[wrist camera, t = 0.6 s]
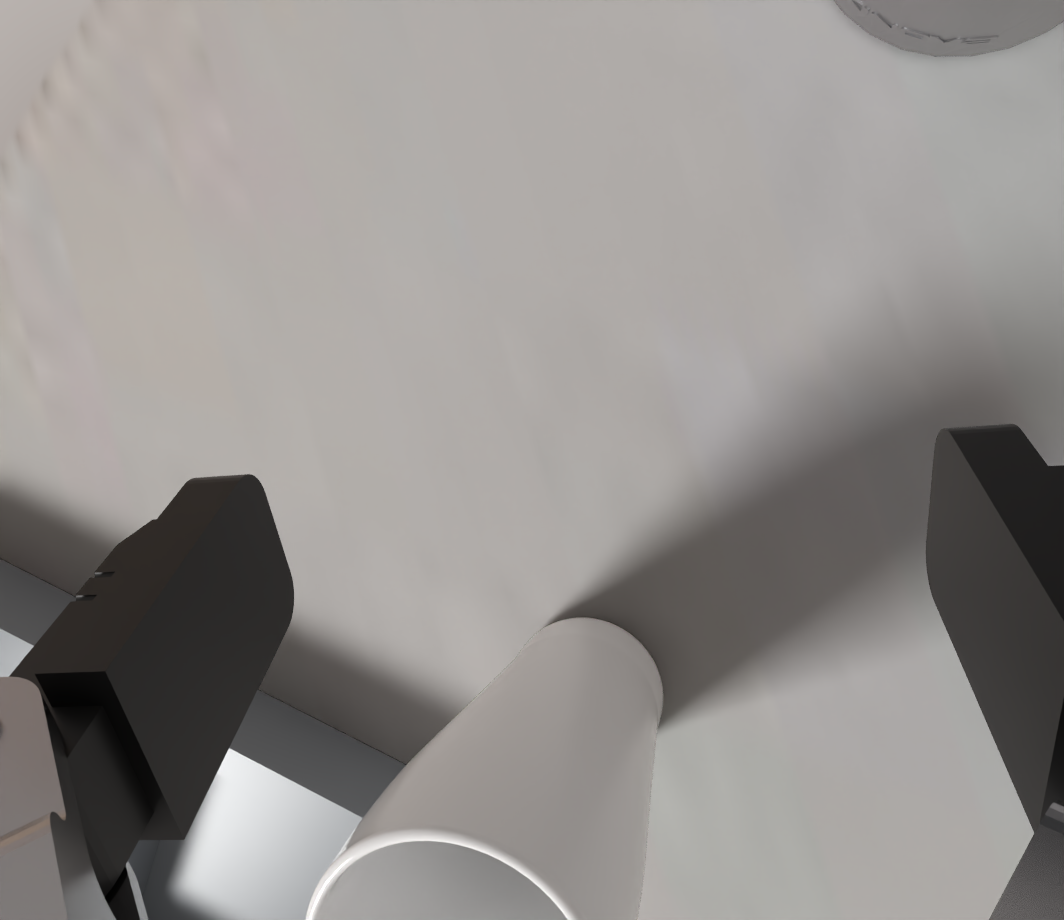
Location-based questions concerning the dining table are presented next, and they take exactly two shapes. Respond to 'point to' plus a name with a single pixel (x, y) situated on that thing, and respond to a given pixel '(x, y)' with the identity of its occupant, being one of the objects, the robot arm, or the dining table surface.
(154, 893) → the divided tray
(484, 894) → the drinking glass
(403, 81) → the dining table surface
